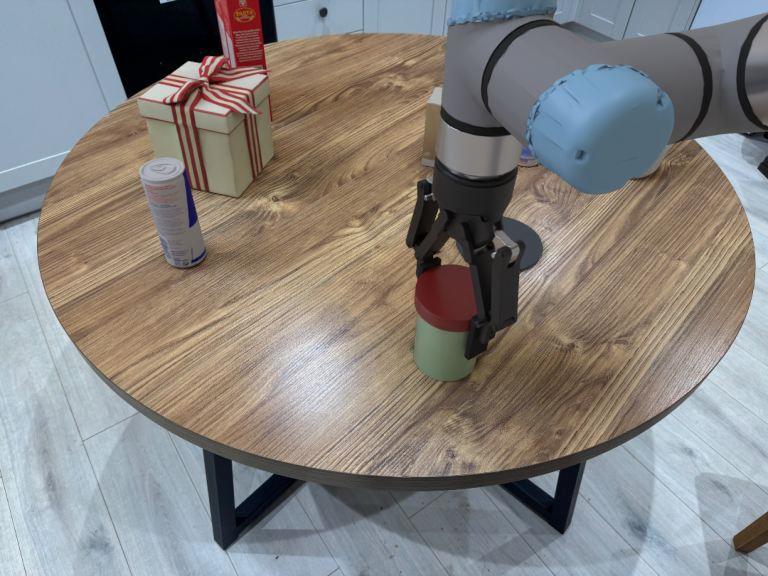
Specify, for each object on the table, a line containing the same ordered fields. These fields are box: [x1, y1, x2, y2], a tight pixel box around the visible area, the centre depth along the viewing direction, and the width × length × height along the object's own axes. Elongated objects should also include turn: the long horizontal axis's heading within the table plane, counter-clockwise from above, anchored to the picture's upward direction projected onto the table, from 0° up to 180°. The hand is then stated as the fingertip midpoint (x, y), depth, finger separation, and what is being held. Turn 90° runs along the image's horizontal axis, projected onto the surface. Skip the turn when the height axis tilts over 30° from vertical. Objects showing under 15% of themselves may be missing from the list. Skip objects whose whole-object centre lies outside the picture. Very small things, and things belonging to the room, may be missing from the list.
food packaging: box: [213, 0, 274, 123], centre depth 106 cm, size 15×5×25 cm, turn 23°
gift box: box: [136, 55, 275, 199], centre depth 93 cm, size 17×18×17 cm
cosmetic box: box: [421, 86, 442, 168], centre depth 99 cm, size 6×4×12 cm
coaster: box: [455, 215, 544, 273], centre depth 86 cm, size 13×13×1 cm
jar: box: [412, 311, 478, 382], centre depth 67 cm, size 8×8×11 cm
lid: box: [413, 263, 478, 332], centre depth 63 cm, size 9×9×2 cm
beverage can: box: [138, 158, 207, 269], centre depth 77 cm, size 6×6×15 cm
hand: (449, 326), depth 67 cm, fingers closed on lid, 9 cm apart
